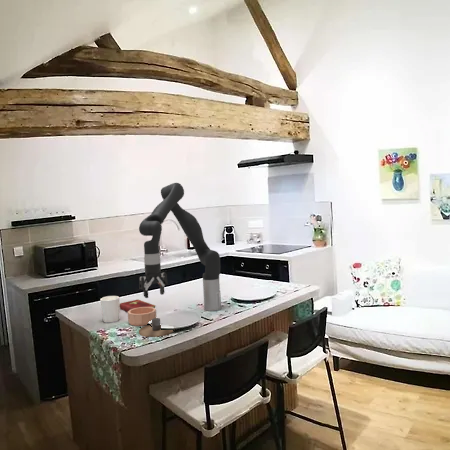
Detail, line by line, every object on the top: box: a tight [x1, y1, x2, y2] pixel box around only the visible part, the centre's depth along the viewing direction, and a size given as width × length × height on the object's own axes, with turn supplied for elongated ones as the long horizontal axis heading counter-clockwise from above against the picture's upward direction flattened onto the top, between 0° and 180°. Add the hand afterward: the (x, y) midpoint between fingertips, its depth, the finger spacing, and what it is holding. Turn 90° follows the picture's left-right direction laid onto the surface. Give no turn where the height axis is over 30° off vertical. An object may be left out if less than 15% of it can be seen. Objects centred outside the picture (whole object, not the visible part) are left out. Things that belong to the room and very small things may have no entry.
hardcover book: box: [119, 299, 156, 313], centre depth 253 cm, size 12×21×4 cm, turn 39°
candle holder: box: [99, 295, 120, 324], centre depth 235 cm, size 10×10×12 cm
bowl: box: [127, 307, 157, 327], centre depth 230 cm, size 14×14×6 cm
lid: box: [138, 317, 174, 338], centre depth 214 cm, size 17×17×6 cm
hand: (154, 296), depth 213 cm, fingers open, 8 cm apart
